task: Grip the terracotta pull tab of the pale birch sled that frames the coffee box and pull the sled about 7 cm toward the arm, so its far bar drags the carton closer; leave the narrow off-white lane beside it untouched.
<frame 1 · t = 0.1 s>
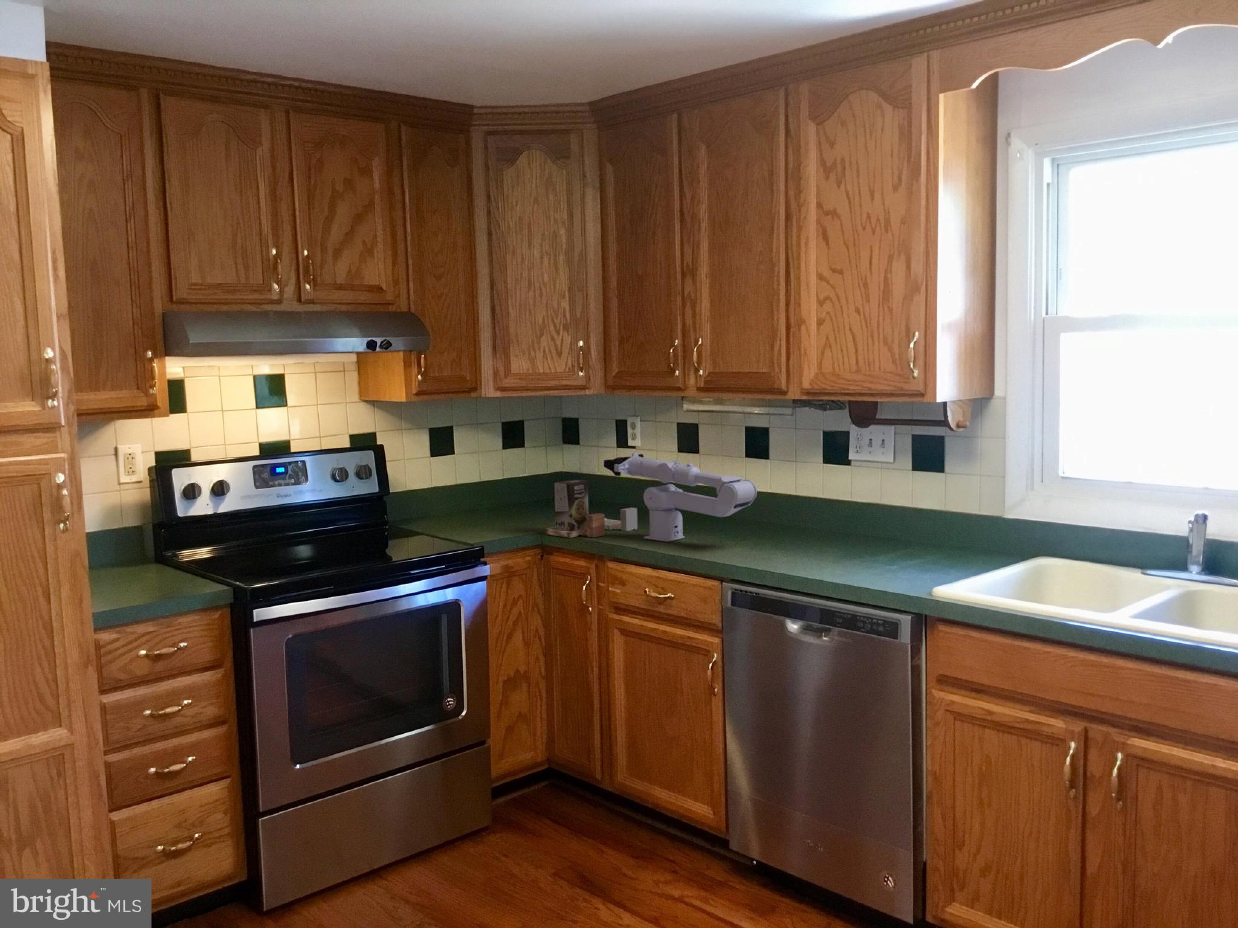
hand: (613, 462, 333), 22 cm above the counter, tool horizontal, fingers open, 7 cm apart
carton sled: (579, 523, 332), point 3 cm above the counter, slide at 0.0 cm
coffee box: (572, 533, 335), on the counter
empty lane: (608, 526, 345), on the counter
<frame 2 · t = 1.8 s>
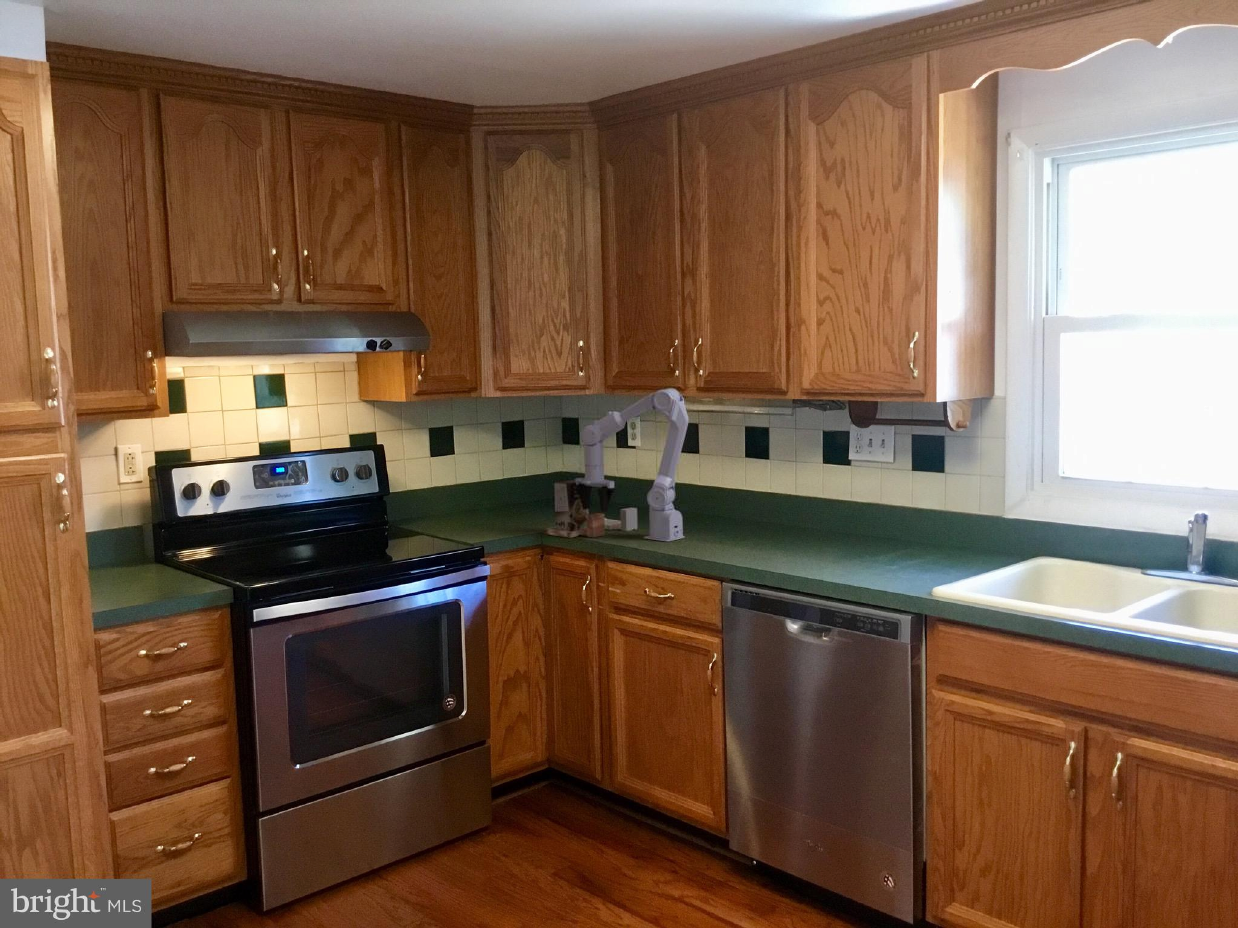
hand: (595, 510, 327), 8 cm above the counter, tool pointing down, fingers open, 7 cm apart
nothing on the counter moved.
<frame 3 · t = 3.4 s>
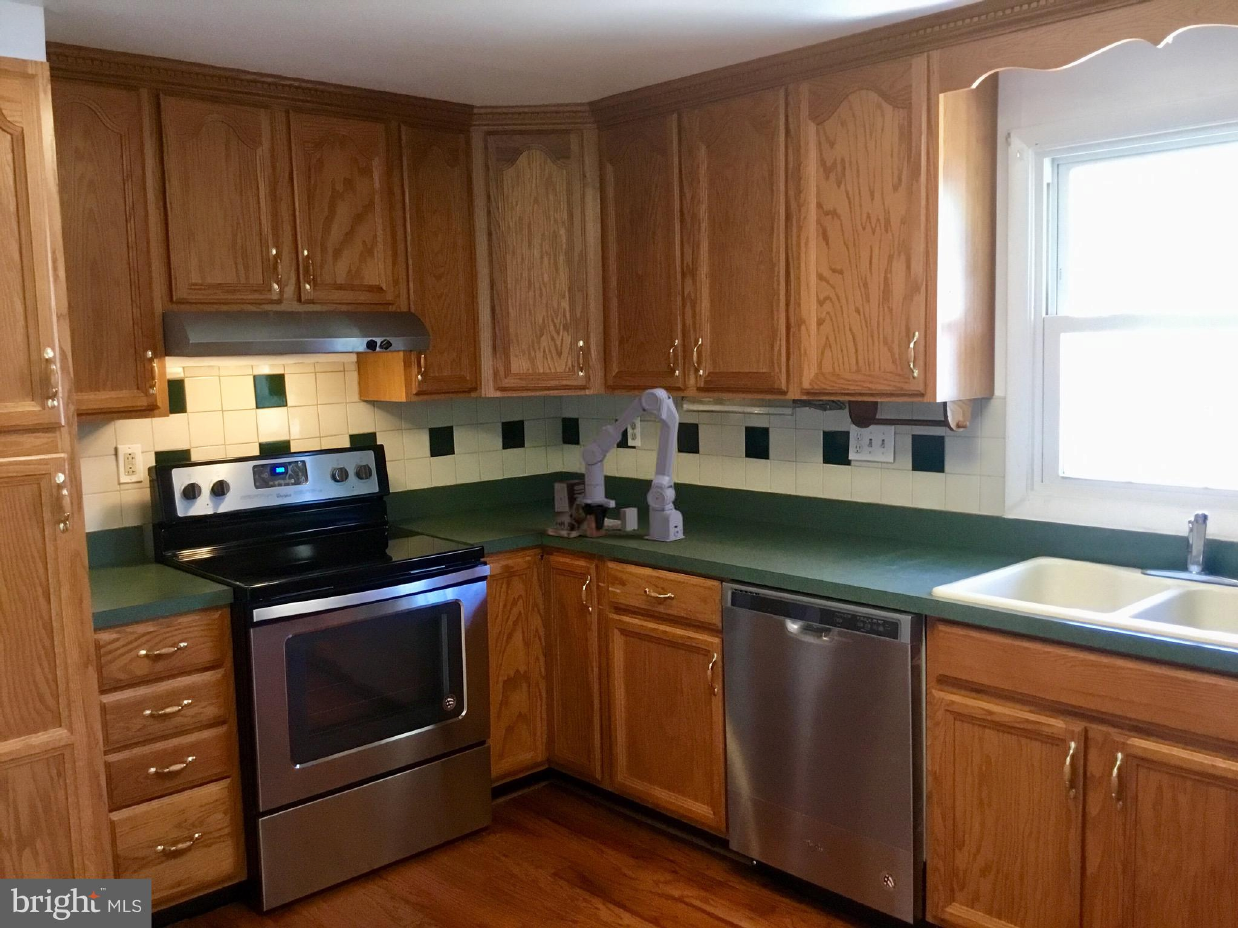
hand: (596, 529, 328), 2 cm above the counter, tool pointing down, fingers closed on carton sled, 2 cm apart
carton sled: (579, 523, 332), point 3 cm above the counter, slide at 0.0 cm, touching gripper
everything else where it was.
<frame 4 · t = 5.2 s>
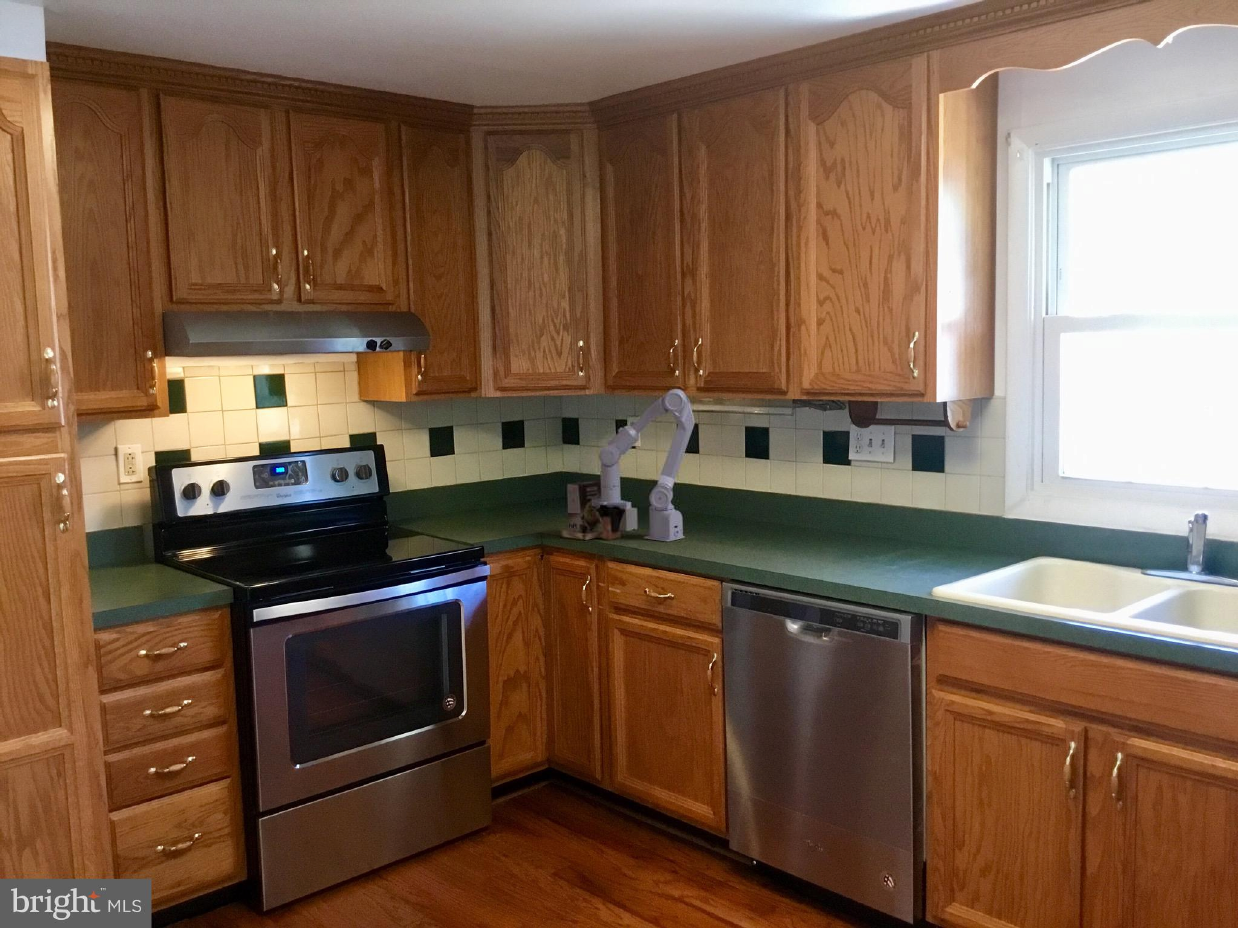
hand: (611, 531, 323), 2 cm above the counter, tool pointing down, fingers closed on carton sled, 2 cm apart
carton sled: (595, 525, 328), point 3 cm above the counter, slide at 6.6 cm, touching coffee box, gripper
coffee box: (586, 535, 331), on the counter, touching carton sled
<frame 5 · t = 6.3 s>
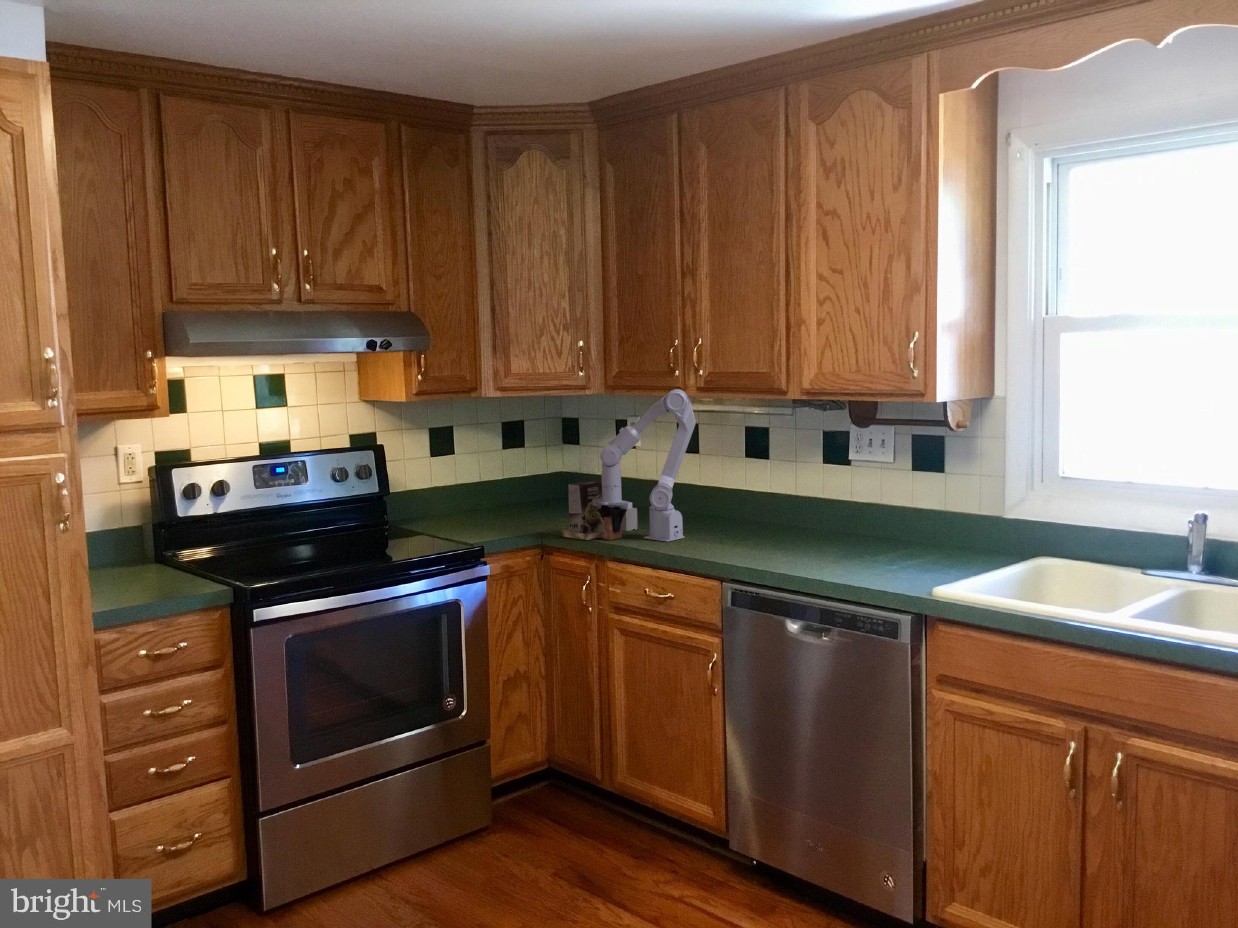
hand: (612, 531, 323), 2 cm above the counter, tool pointing down, fingers closed on carton sled, 2 cm apart
carton sled: (596, 525, 328), point 3 cm above the counter, slide at 7.0 cm, touching gripper
coffee box: (587, 536, 330), on the counter
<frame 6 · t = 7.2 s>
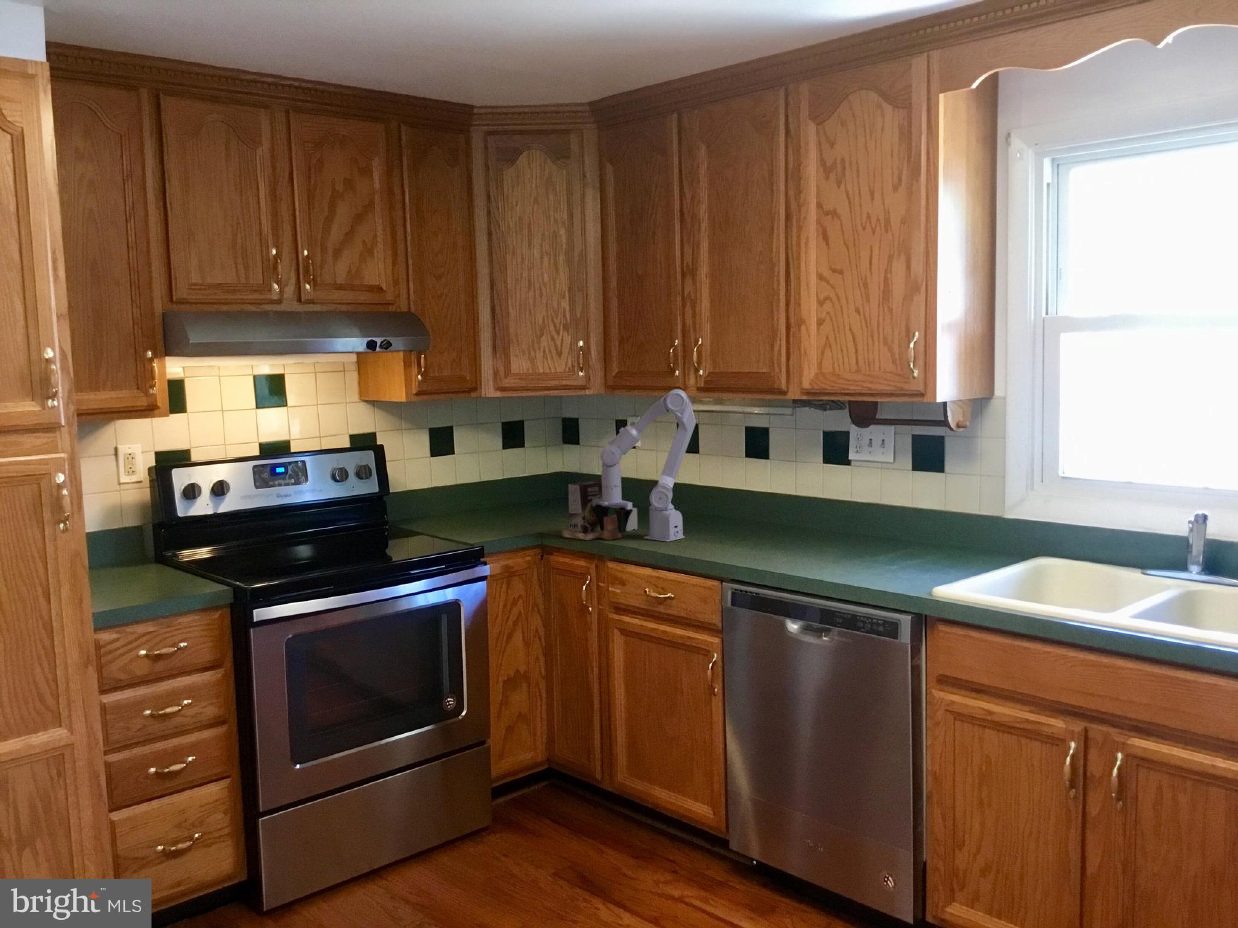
hand: (612, 531, 323), 2 cm above the counter, tool pointing down, fingers open, 7 cm apart
carton sled: (596, 525, 328), point 3 cm above the counter, slide at 7.0 cm
everything else where it was.
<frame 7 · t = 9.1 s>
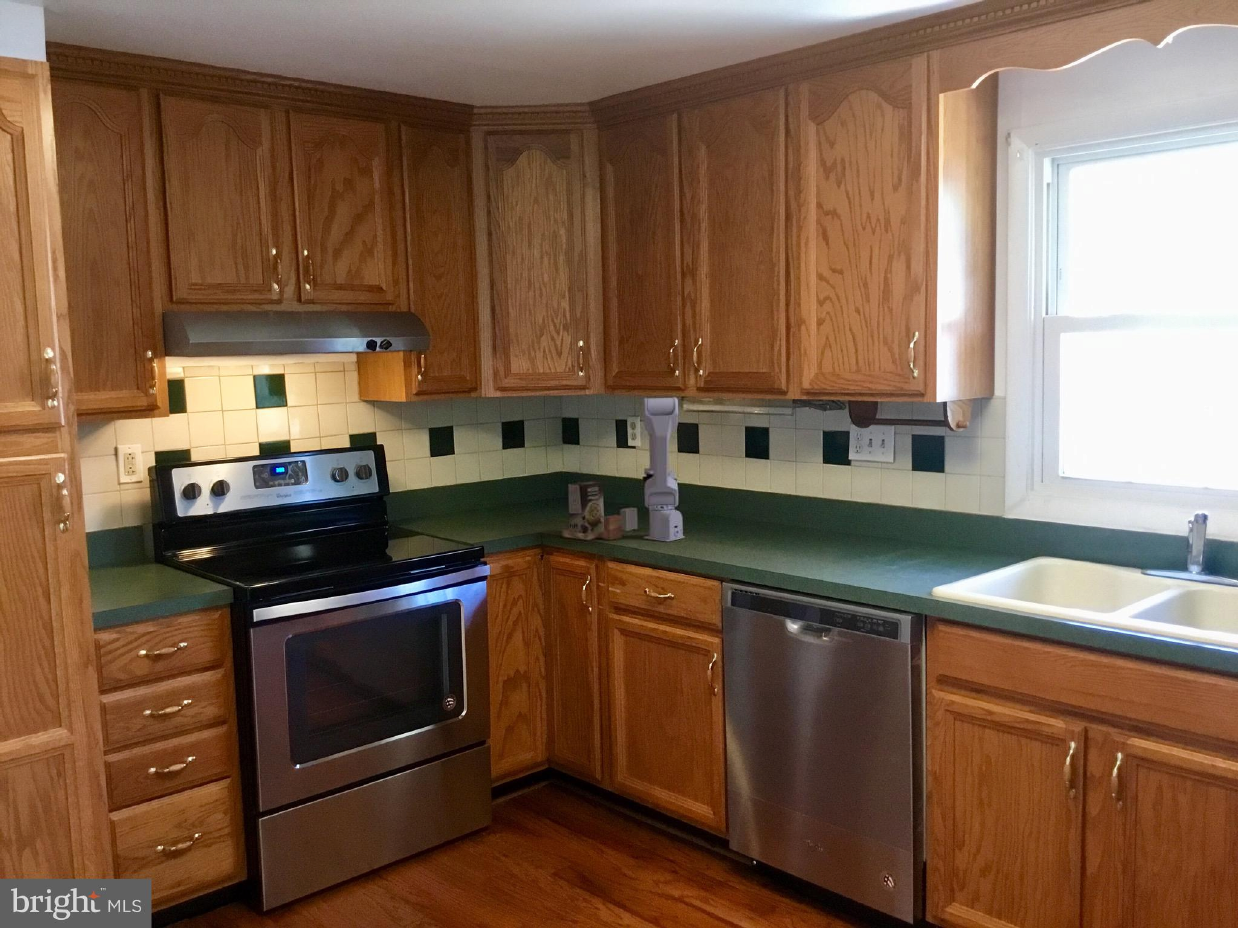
hand: (659, 500, 334), 9 cm above the counter, tool pointing down, fingers open, 7 cm apart
nothing on the counter moved.
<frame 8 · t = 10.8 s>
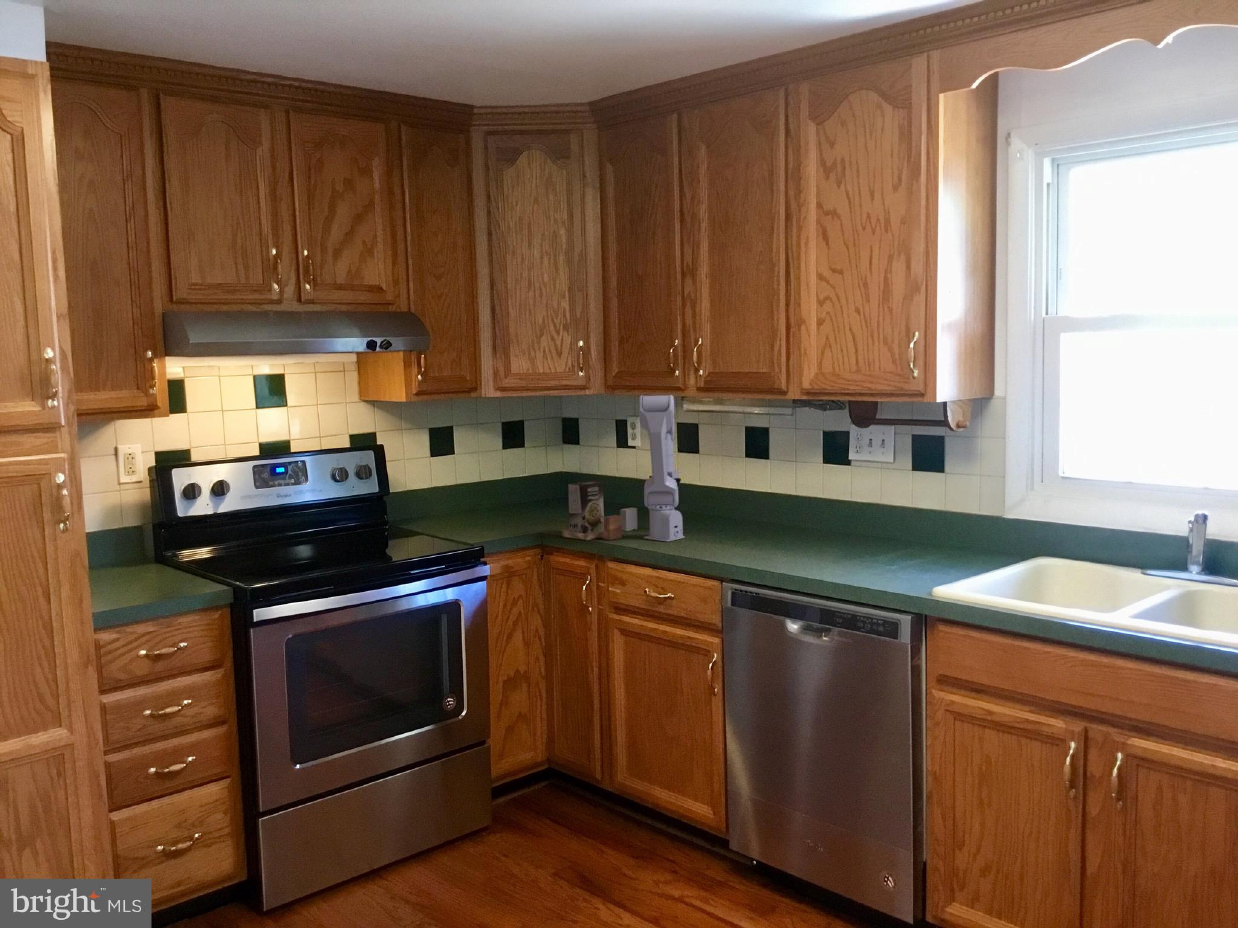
hand: (665, 499, 336), 9 cm above the counter, tool pointing down, fingers open, 7 cm apart
nothing on the counter moved.
at the end: carton sled slide at 7.0 cm; coffee box inside the target area (0.4 cm from its centre), on the counter; coffee box tilted 0° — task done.
